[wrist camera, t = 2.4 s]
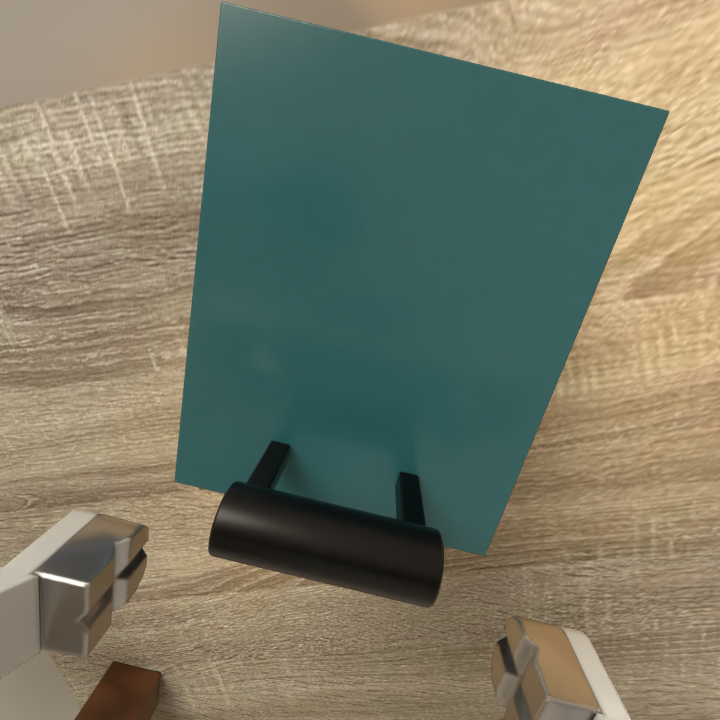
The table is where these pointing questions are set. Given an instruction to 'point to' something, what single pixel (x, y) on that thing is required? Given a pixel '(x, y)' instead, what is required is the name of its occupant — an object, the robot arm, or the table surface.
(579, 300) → the lid
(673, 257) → the table surface
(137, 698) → the block
